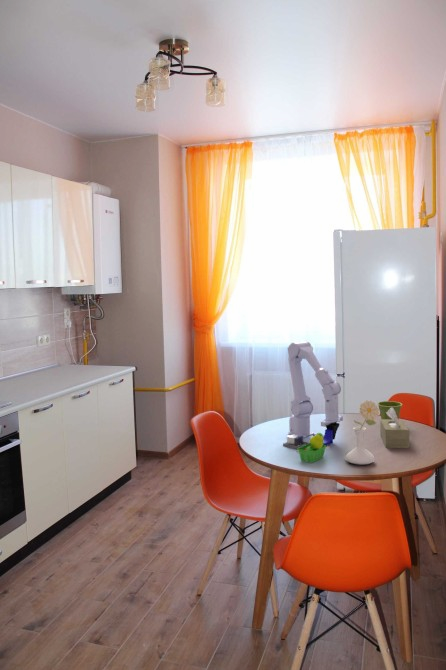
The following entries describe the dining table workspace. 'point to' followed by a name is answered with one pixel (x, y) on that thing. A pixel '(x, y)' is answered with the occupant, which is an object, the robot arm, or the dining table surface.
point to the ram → (295, 439)
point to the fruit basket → (313, 449)
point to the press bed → (297, 446)
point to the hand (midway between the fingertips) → (332, 439)
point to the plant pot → (386, 405)
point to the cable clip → (327, 437)
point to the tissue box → (394, 431)
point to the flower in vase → (359, 452)
